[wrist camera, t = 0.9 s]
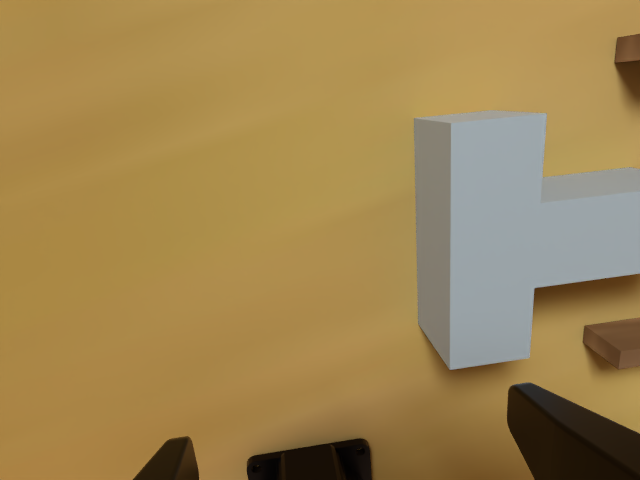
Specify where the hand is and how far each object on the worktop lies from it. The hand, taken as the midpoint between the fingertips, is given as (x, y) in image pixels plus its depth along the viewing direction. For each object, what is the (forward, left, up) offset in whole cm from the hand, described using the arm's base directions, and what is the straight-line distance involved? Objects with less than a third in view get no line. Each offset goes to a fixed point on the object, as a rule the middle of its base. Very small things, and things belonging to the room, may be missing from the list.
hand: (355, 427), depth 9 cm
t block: (0, -10, -12) cm, 16 cm away
